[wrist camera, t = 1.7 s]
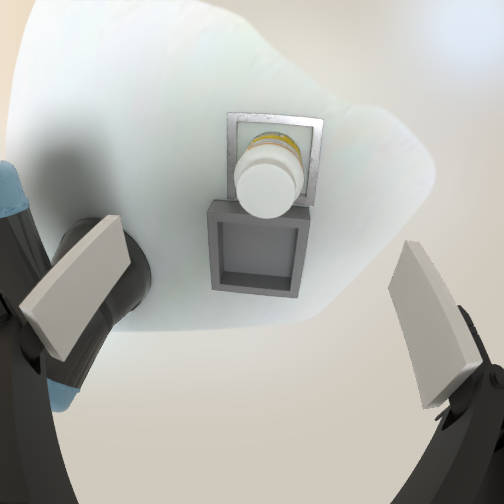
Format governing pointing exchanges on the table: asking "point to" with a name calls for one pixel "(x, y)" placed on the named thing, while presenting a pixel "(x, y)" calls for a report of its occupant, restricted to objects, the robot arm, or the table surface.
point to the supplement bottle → (269, 175)
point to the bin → (256, 250)
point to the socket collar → (280, 119)
